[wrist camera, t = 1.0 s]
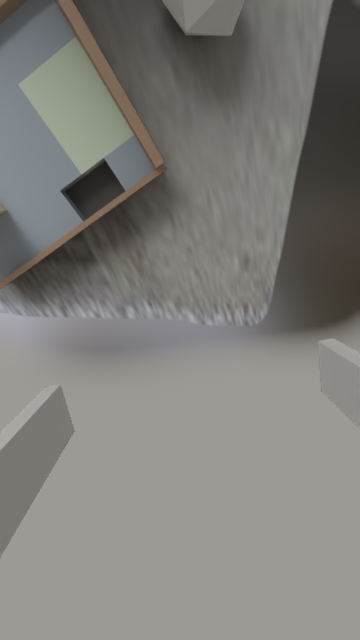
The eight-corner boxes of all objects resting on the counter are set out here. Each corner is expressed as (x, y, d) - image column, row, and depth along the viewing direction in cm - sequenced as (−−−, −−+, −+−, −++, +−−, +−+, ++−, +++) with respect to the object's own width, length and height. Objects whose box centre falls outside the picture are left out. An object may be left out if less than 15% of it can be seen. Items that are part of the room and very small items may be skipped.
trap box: (11, 282, 36) (-10, 295, 31) (-123, 144, 29) (-178, 133, 24) (164, 171, 33) (167, 167, 28) (57, -13, 26) (37, -62, 21)
